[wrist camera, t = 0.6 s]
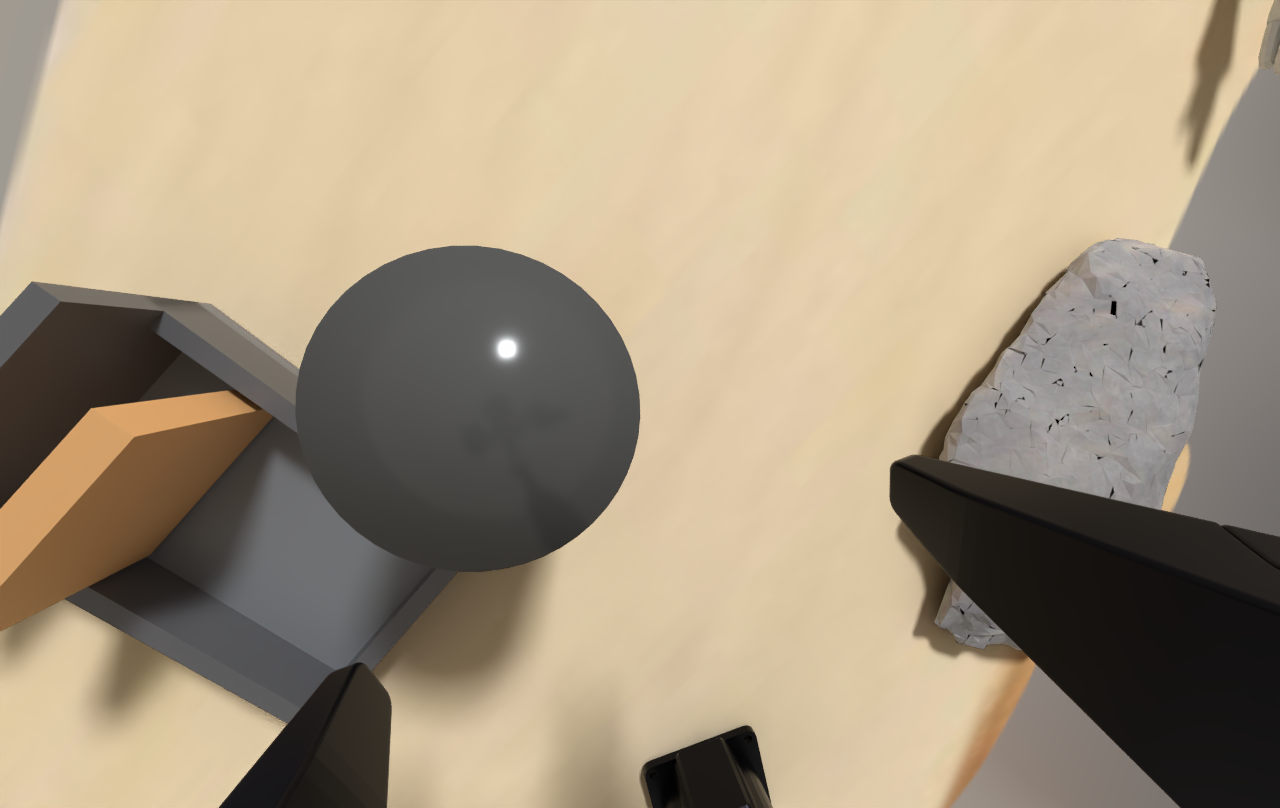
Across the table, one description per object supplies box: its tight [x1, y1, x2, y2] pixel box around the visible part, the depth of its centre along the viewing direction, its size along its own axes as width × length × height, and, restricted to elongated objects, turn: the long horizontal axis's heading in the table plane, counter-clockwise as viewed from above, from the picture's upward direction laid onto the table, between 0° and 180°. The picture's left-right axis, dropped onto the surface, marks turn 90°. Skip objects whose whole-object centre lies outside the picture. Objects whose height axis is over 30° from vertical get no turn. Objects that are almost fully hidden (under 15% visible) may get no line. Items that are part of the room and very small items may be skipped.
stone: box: [934, 238, 1216, 651], centre depth 26 cm, size 16×5×25 cm
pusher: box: [0, 389, 273, 631], centre depth 16 cm, size 1×8×7 cm, turn 138°
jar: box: [295, 246, 640, 572], centre depth 16 cm, size 7×7×12 cm
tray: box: [0, 282, 458, 723], centre depth 18 cm, size 15×11×7 cm
